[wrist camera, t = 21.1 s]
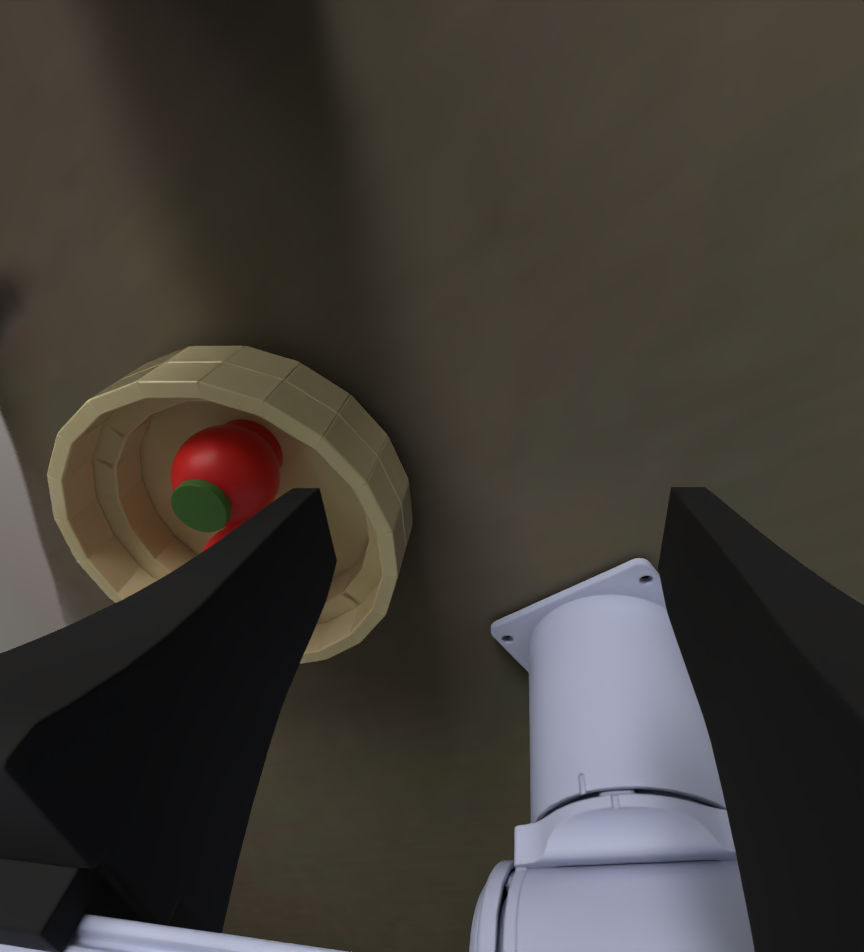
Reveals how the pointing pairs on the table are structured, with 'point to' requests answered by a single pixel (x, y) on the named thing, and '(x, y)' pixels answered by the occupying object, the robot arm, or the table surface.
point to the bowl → (303, 466)
